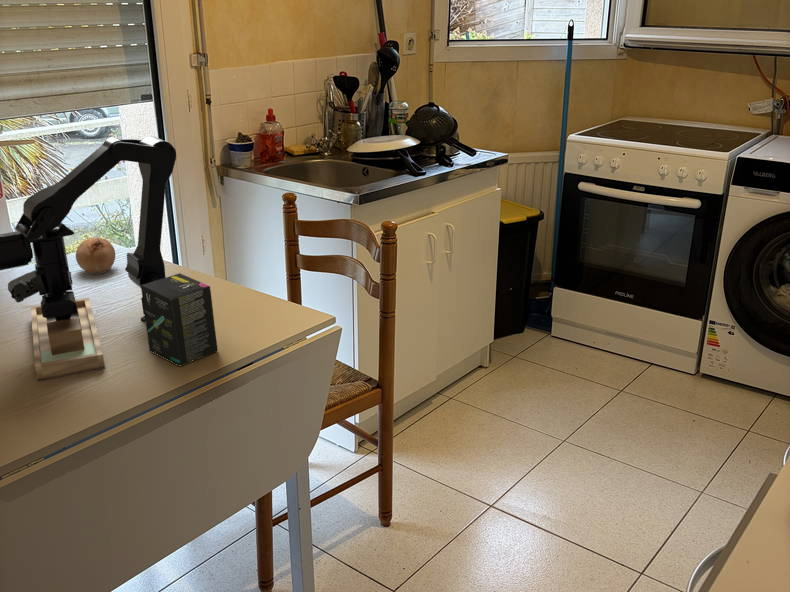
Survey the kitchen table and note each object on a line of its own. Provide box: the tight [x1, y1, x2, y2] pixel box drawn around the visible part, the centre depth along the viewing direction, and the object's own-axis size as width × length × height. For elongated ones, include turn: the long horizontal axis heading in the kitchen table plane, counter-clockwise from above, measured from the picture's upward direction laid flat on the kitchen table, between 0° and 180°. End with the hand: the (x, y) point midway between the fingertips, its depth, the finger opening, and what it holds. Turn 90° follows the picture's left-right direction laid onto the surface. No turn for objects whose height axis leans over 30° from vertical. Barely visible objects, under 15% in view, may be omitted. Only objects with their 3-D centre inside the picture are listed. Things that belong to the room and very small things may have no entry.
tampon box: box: [140, 273, 219, 366], centre depth 155 cm, size 11×9×15 cm
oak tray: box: [30, 297, 106, 381], centre depth 160 cm, size 30×12×3 cm, turn 25°
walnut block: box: [47, 318, 85, 355], centre depth 155 cm, size 6×6×4 cm
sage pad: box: [40, 343, 96, 363], centre depth 152 cm, size 8×10×1 cm
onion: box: [75, 236, 116, 274], centre depth 196 cm, size 10×9×10 cm
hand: (64, 330), depth 159 cm, fingers closed
